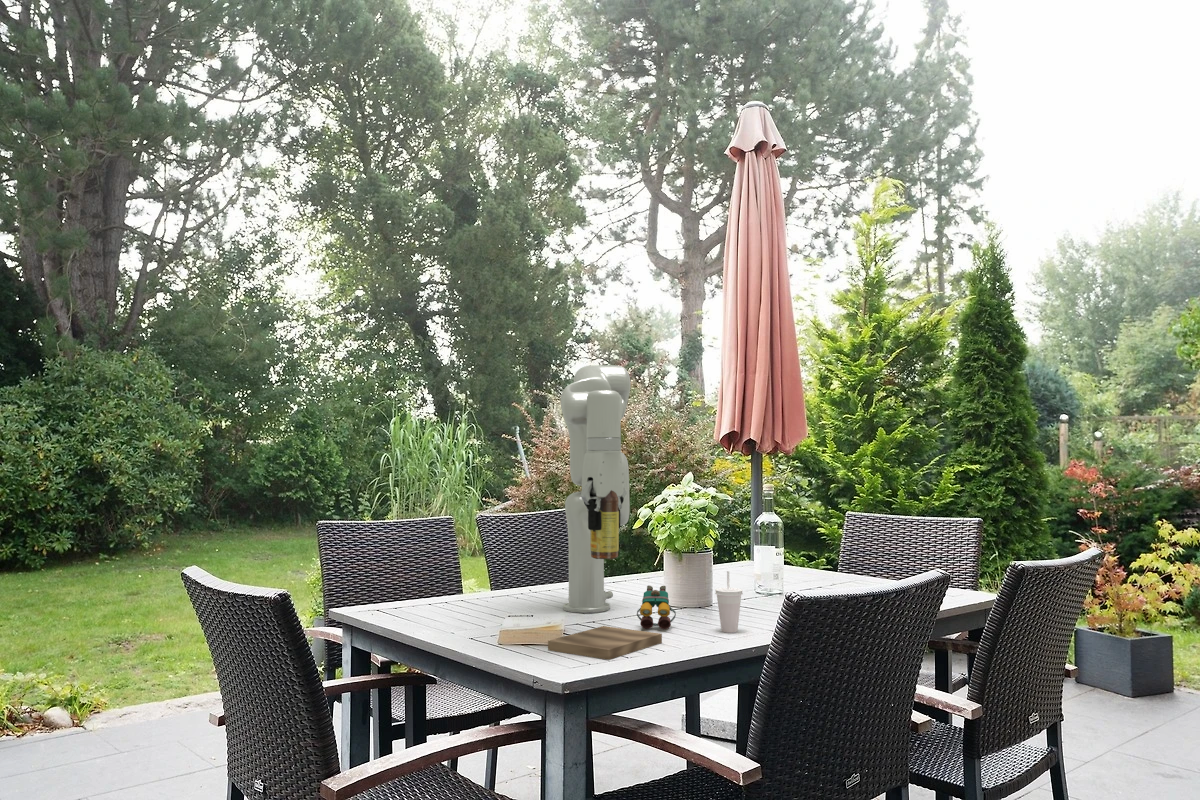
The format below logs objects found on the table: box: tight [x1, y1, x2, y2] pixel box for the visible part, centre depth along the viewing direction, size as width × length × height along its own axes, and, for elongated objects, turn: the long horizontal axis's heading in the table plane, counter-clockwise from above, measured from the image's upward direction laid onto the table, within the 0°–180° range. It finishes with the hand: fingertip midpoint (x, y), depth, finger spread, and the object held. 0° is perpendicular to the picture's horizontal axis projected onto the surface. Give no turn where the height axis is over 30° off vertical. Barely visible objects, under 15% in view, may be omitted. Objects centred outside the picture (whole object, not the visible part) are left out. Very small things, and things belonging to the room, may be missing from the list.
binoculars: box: [636, 585, 677, 630], centre depth 217 cm, size 9×9×10 cm
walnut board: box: [547, 625, 663, 661], centre depth 196 cm, size 20×16×2 cm
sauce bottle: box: [590, 490, 620, 560], centre depth 198 cm, size 6×6×20 cm
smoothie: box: [714, 570, 744, 634], centre depth 212 cm, size 6×6×14 cm
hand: (604, 527), depth 197 cm, fingers closed on sauce bottle, 6 cm apart
